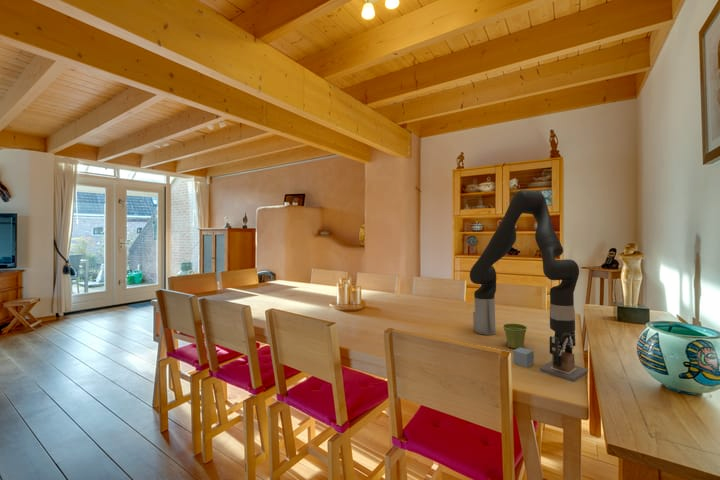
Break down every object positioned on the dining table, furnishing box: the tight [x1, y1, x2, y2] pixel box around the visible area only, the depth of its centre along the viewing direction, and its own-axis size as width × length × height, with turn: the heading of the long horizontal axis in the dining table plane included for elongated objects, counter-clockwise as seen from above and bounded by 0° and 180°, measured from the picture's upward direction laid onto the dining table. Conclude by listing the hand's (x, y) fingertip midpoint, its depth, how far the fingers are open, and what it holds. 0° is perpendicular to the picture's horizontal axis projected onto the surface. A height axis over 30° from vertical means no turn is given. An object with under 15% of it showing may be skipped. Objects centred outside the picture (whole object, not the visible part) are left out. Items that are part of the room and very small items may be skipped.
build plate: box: [539, 360, 589, 382], centre depth 112 cm, size 11×11×1 cm
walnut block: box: [551, 350, 576, 372], centre depth 112 cm, size 5×5×5 cm
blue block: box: [512, 347, 535, 369], centre depth 120 cm, size 5×5×5 cm
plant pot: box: [502, 323, 528, 349], centre depth 137 cm, size 9×9×9 cm
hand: (563, 362), depth 112 cm, fingers open, 8 cm apart
